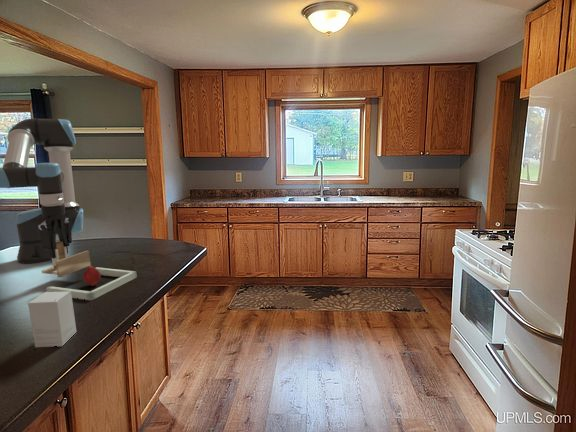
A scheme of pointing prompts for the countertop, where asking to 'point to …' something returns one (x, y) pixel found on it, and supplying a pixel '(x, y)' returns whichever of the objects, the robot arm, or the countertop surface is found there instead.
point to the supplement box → (52, 318)
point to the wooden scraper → (68, 262)
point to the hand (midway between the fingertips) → (60, 263)
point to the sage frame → (90, 295)
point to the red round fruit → (91, 276)
